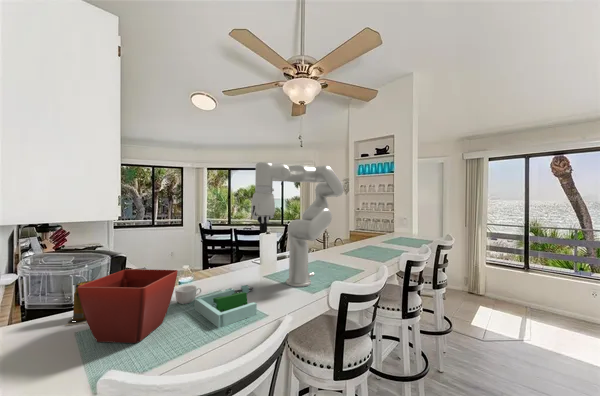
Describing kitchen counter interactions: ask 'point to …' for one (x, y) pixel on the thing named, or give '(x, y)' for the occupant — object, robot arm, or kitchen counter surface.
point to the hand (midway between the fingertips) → (263, 231)
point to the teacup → (186, 294)
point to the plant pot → (127, 303)
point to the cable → (241, 290)
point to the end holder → (226, 317)
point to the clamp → (230, 301)
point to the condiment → (77, 308)
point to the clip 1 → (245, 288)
